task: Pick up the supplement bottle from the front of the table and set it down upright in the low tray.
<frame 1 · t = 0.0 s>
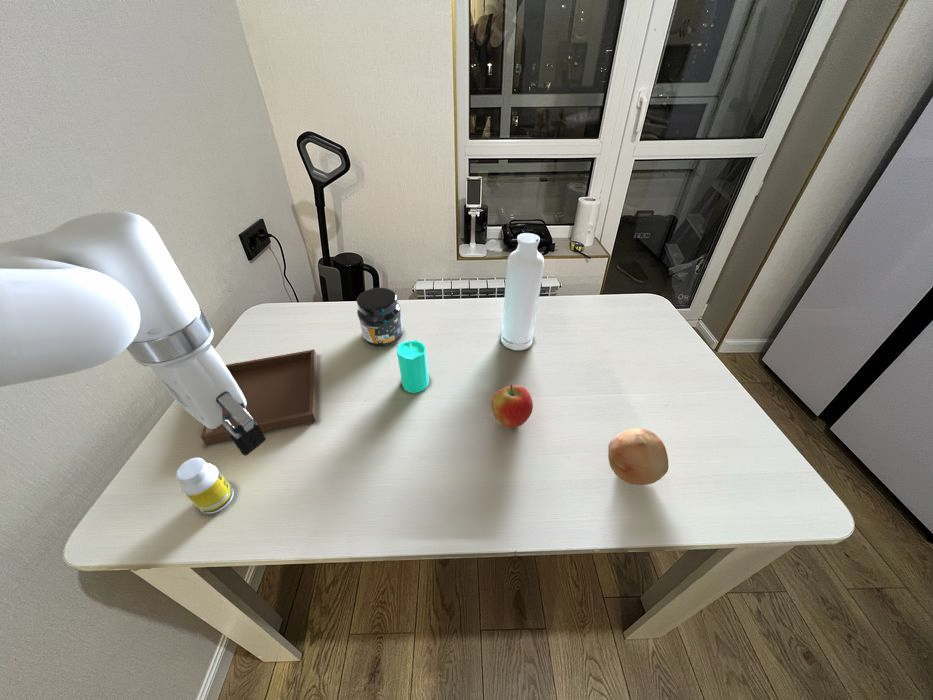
hand: (233, 430, 52), 20 cm above the table, tool pointing down, fingers open, 9 cm apart
tray: (268, 396, 83), on the table
candle: (415, 383, 86), on the table
supplement bottle: (218, 499, 66), on the table
supplement container: (383, 336, 99), on the table
apple: (510, 421, 78), on the table
onion: (629, 472, 70), on the table
bottle: (516, 340, 98), on the table
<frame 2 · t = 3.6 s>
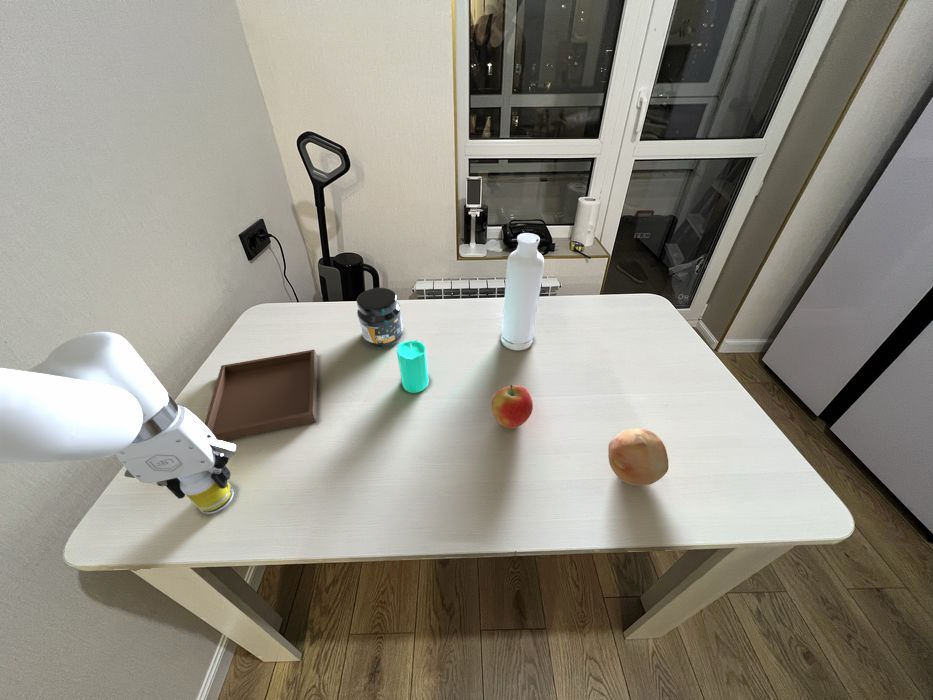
hand: (204, 484, 62), 5 cm above the table, tool pointing down, fingers closed on supplement bottle, 5 cm apart
supplement bottle: (218, 499, 66), on the table, touching gripper
everything else where it was.
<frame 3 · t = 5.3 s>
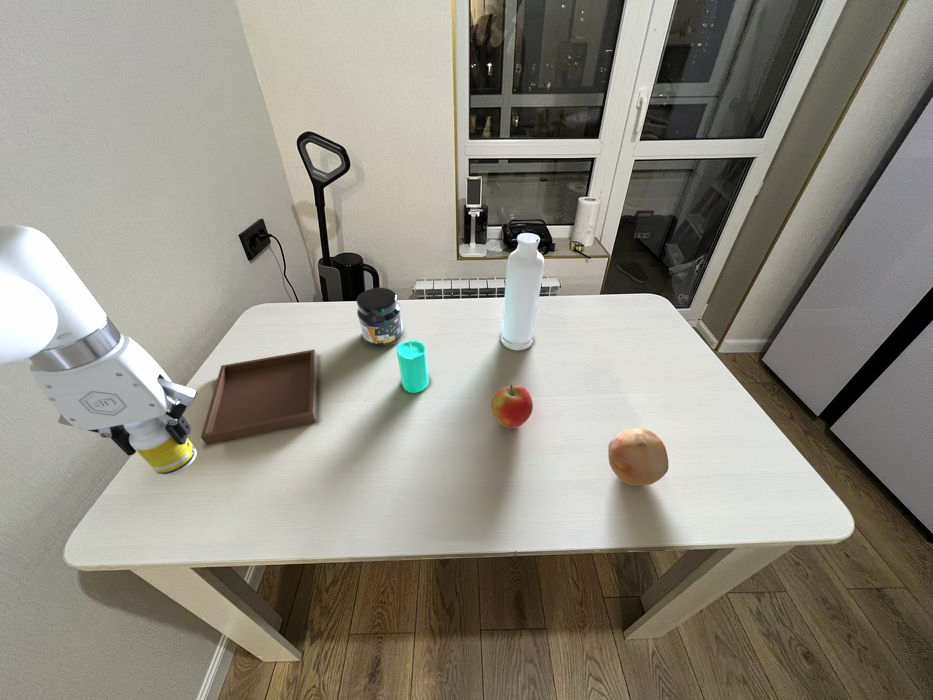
hand: (160, 440, 53), 18 cm above the table, tool pointing down, fingers closed on supplement bottle, 5 cm apart
supplement bottle: (178, 461, 57), point 13 cm above the table, touching gripper
everything else where it was.
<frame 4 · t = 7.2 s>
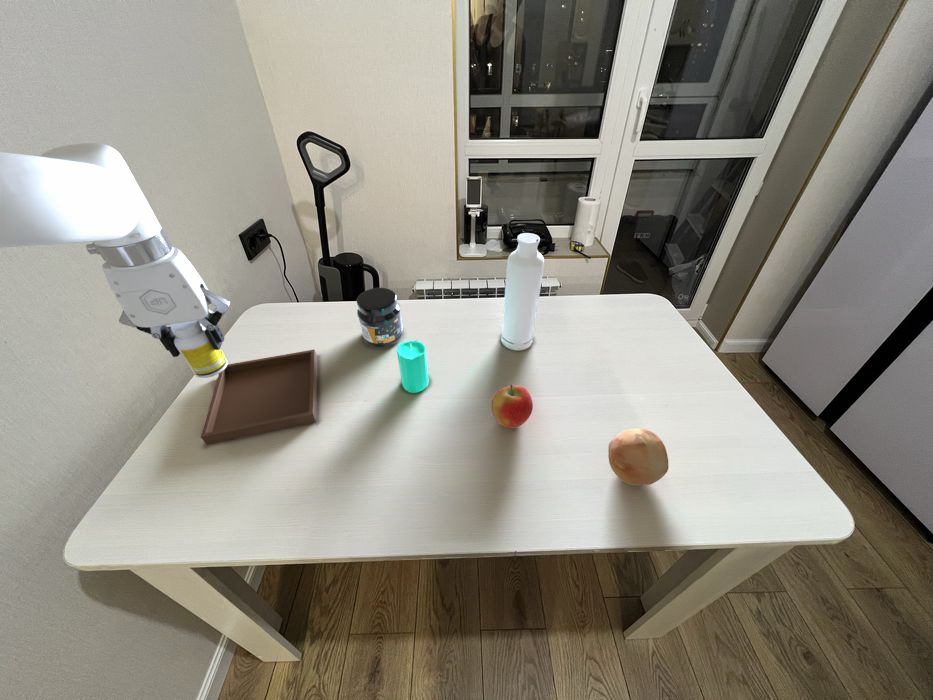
hand: (198, 347, 63), 21 cm above the table, tool pointing down, fingers closed on supplement bottle, 5 cm apart
supplement bottle: (212, 368, 66), point 16 cm above the table, touching gripper
everything else where it was.
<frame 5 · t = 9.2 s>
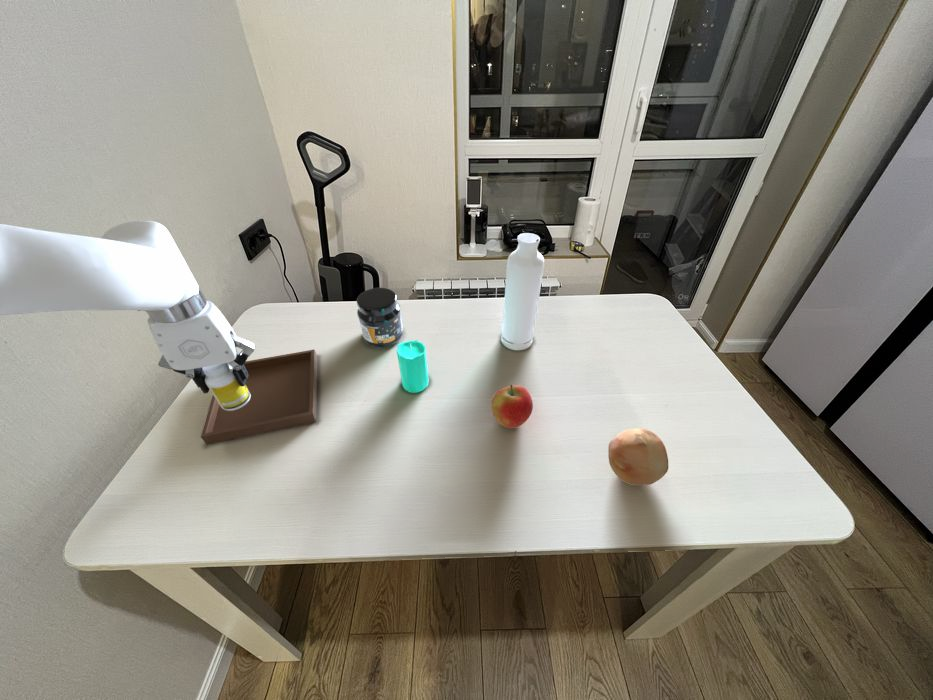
hand: (225, 383, 70), 11 cm above the table, tool pointing down, fingers closed on supplement bottle, 5 cm apart
supplement bottle: (236, 401, 74), point 6 cm above the table, touching gripper
everything else where it was.
when the fingers open (5 cm above the table, at t = 11.0 s): supplement bottle stays where it is, resting on tray.
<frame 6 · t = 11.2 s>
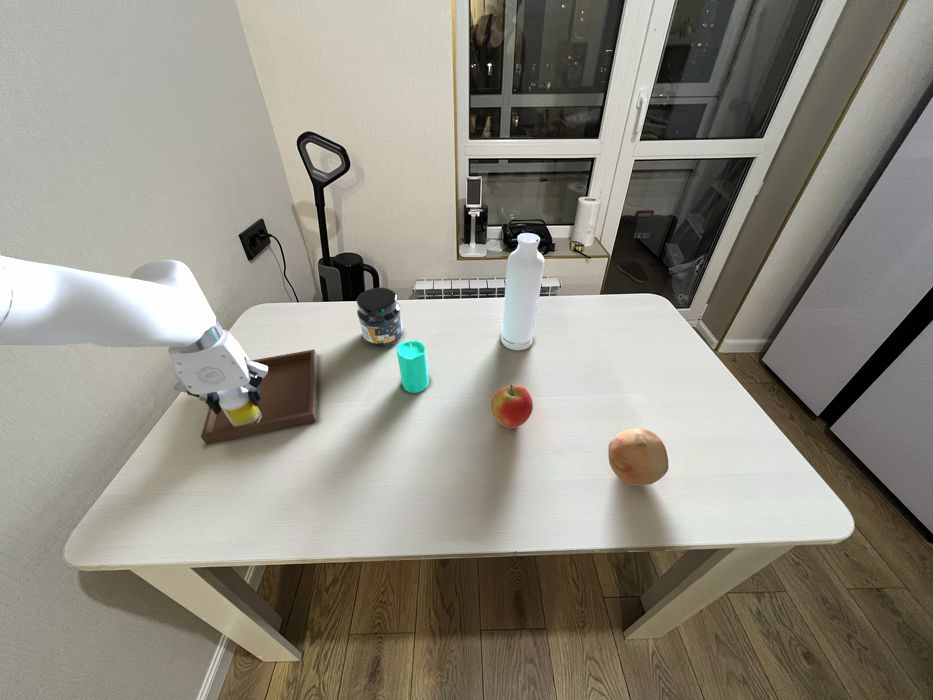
hand: (238, 404, 74), 6 cm above the table, tool pointing down, fingers open, 6 cm apart
supplement bottle: (248, 421, 78), resting on tray
everything else where it was.
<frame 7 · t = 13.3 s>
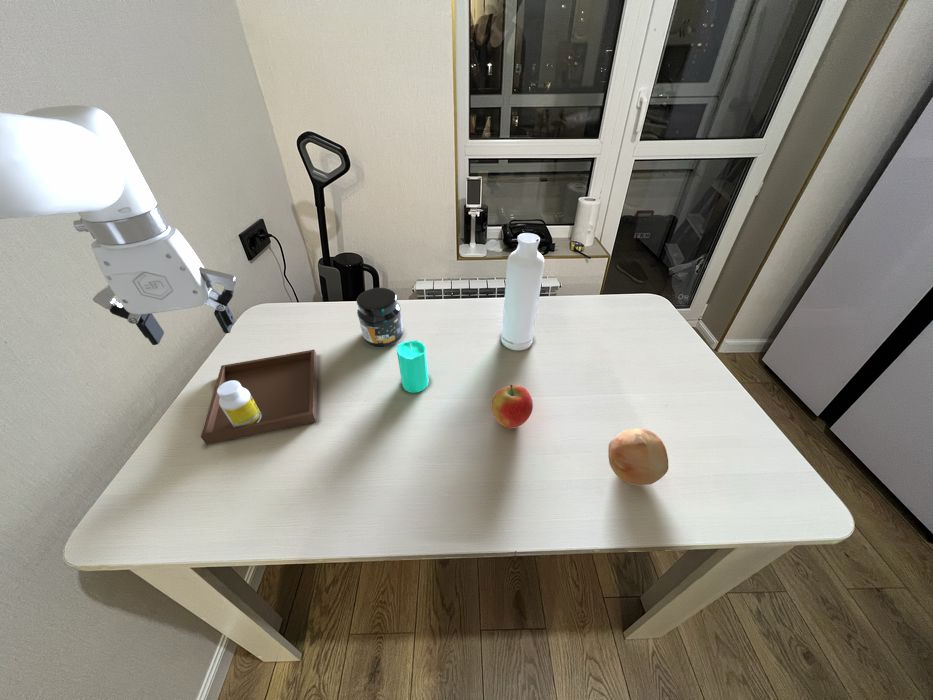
hand: (194, 333, 58), 26 cm above the table, tool pointing down, fingers open, 9 cm apart
nothing on the table moved.
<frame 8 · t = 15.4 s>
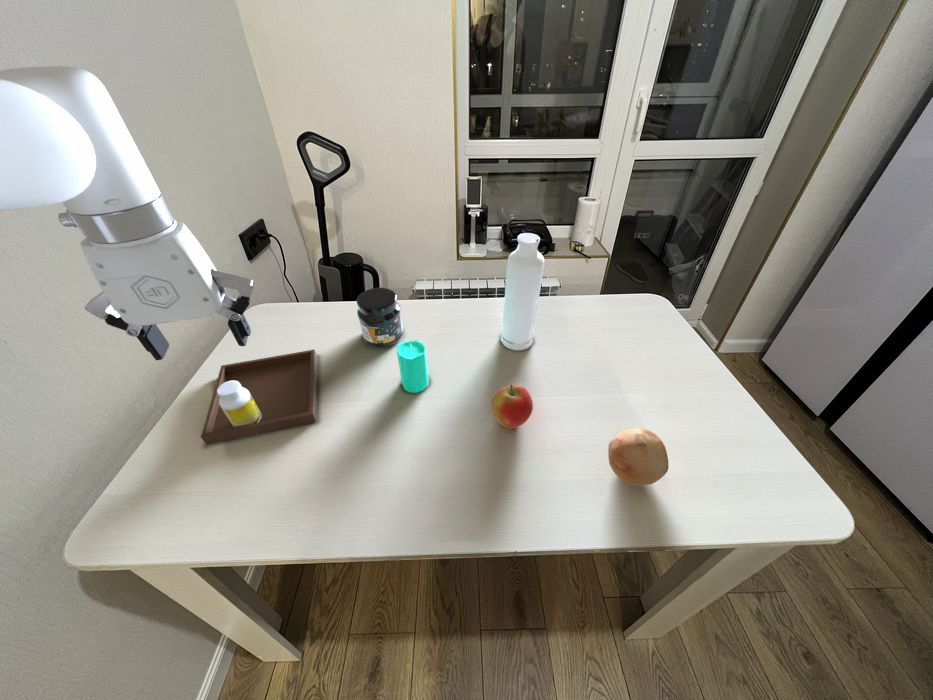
hand: (204, 346, 50), 30 cm above the table, tool pointing down, fingers open, 9 cm apart
nothing on the table moved.
at the end: supplement bottle inside the target area in the tray (7.2 cm from its centre), point 0.4 cm above the tray's base; supplement bottle tilted 0°; the gripper is holding nothing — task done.
